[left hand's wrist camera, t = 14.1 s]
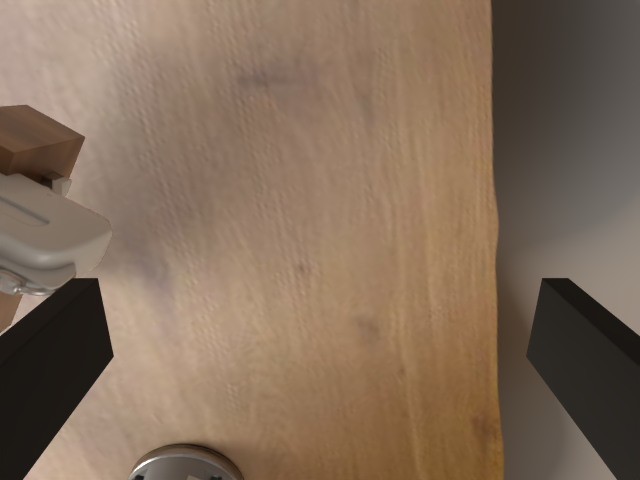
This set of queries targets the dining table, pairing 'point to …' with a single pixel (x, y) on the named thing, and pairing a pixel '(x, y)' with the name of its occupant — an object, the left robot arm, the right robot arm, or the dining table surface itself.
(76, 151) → the bar
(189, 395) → the dining table surface
